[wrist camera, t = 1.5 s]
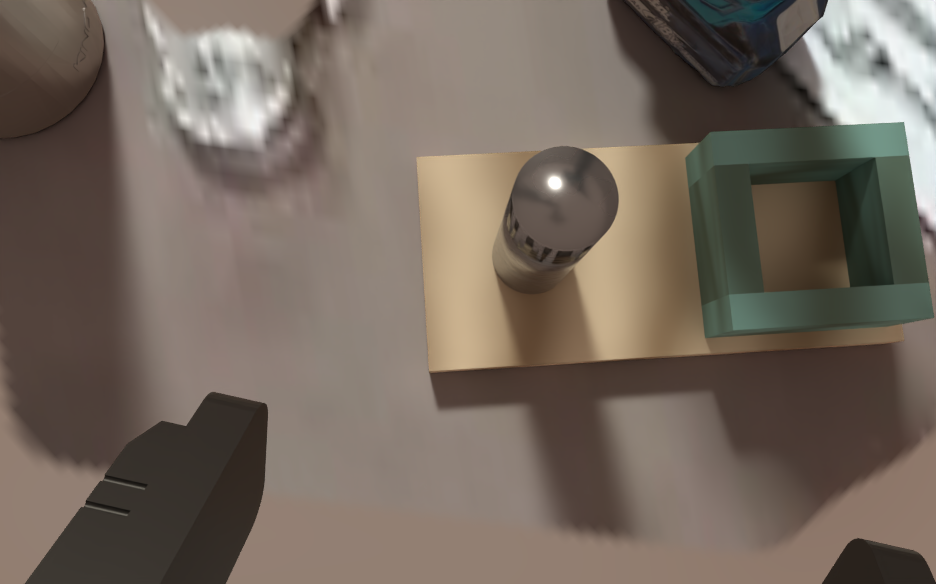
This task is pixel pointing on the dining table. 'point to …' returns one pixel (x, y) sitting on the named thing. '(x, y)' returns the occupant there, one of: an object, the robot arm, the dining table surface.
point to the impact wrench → (729, 32)
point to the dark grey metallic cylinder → (553, 218)
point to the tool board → (688, 252)
